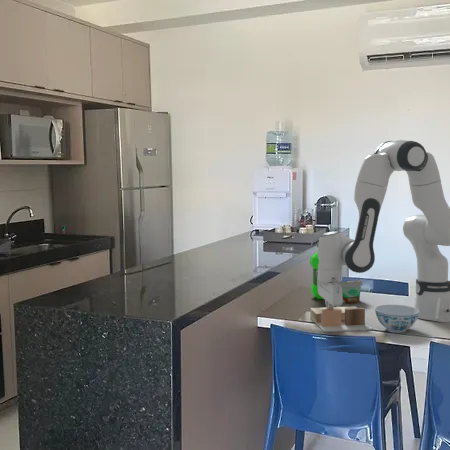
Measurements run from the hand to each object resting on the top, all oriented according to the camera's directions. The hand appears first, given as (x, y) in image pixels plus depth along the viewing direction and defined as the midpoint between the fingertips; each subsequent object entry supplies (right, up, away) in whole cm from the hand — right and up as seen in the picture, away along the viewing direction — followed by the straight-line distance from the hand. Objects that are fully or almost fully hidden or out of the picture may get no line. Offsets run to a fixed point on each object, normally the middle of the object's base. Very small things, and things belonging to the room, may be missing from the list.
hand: (329, 312), depth 203 cm
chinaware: (+22, -6, -7) cm, 24 cm away
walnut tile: (+9, -1, -1) cm, 9 cm away
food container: (+16, -2, +34) cm, 38 cm away
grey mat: (+5, -5, -2) cm, 7 cm away
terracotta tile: (0, -2, -2) cm, 3 cm away
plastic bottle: (+5, -1, +45) cm, 45 cm away
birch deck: (+4, -4, +7) cm, 9 cm away
